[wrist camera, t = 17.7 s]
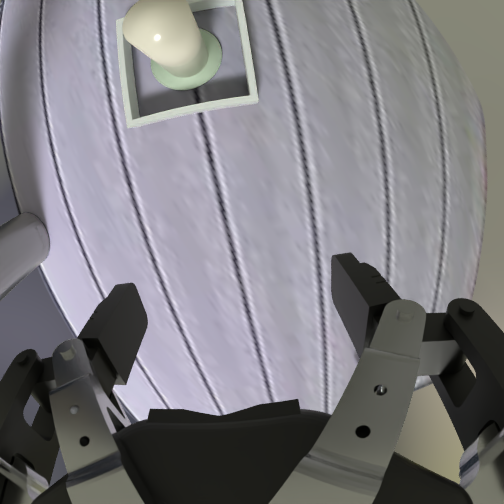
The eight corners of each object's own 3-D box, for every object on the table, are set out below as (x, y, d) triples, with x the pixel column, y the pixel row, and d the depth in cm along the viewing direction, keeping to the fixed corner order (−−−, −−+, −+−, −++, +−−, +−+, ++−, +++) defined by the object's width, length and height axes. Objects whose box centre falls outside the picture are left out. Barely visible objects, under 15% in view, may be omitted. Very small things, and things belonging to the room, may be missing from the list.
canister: (166, 82, 29) (124, 56, 16) (162, 44, 26) (121, 4, 14) (211, 72, 29) (193, 37, 16) (205, 35, 26) (187, -15, 13)
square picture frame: (135, 127, 31) (127, 127, 28) (124, 26, 25) (116, 20, 22) (256, 103, 31) (258, 101, 28) (240, 0, 24) (240, -10, 22)
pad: (155, 97, 30) (154, 97, 29) (148, 38, 26) (147, 37, 26) (226, 82, 30) (226, 82, 29) (217, 22, 26) (217, 21, 25)
